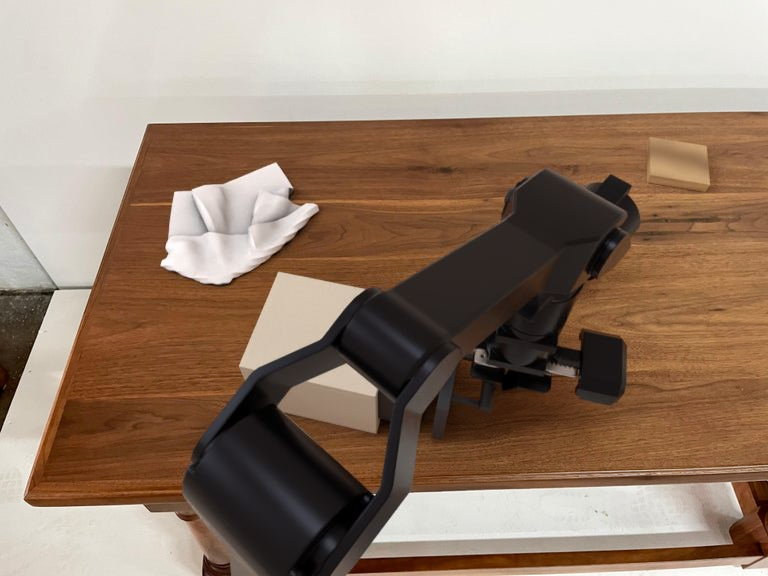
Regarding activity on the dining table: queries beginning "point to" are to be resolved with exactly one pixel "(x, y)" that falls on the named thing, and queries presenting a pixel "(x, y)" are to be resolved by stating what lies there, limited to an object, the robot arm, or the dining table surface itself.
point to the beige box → (301, 328)
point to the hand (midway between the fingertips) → (501, 388)
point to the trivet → (677, 164)
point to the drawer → (444, 403)
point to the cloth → (232, 226)
